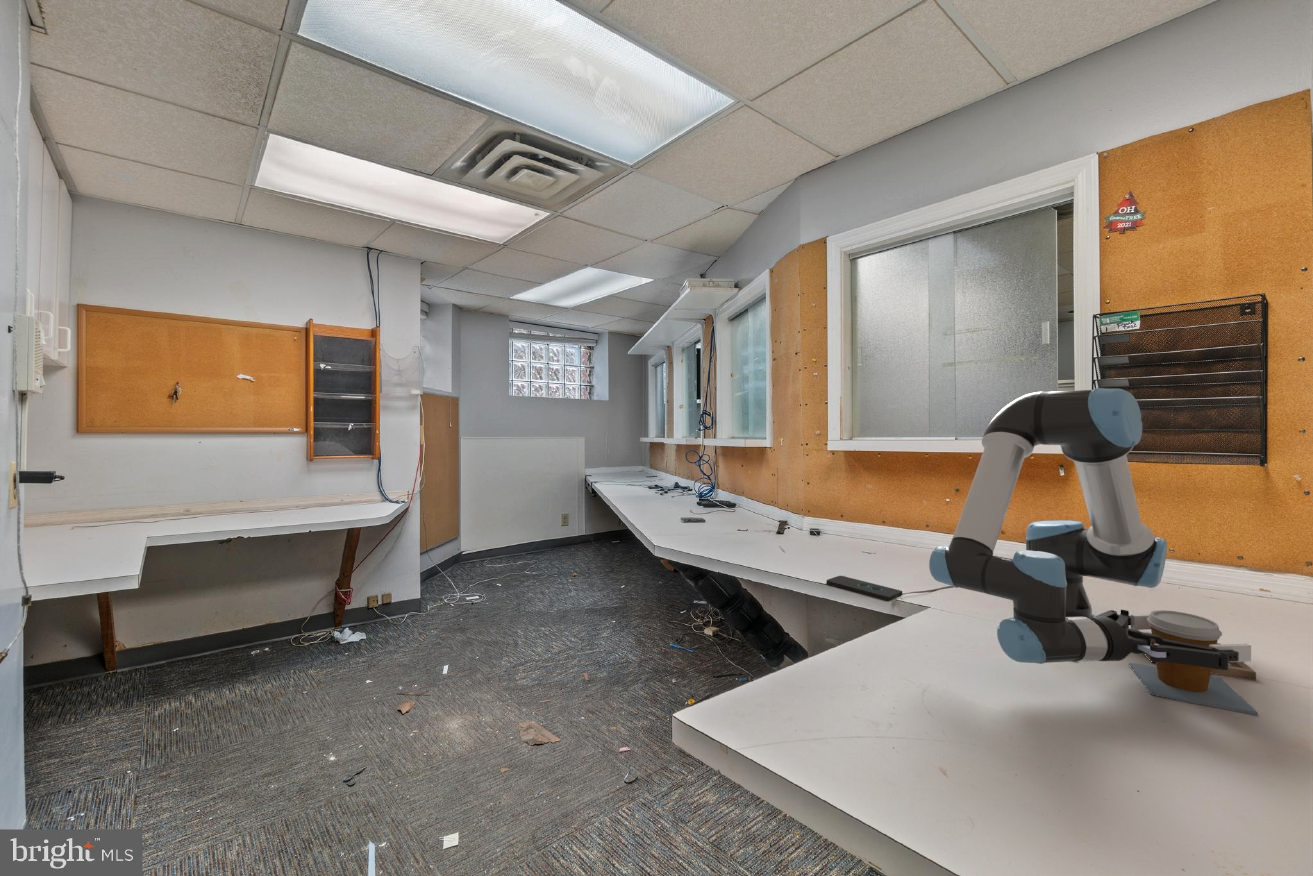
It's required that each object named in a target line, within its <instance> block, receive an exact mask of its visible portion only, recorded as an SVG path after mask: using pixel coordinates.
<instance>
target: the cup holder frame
mask: <svg viewBox="0 0 1313 876" xmlns="http://www.w3.org/2000/svg"><path fill="white" fill-rule="evenodd" d="M1143 632H1144V631H1143ZM1144 633H1146V632H1144ZM1149 633H1150V634H1152V633H1151V632H1149ZM1151 643H1153V640H1152V639H1151ZM1217 644H1221V643H1219V642H1217ZM1146 656H1147V657H1148V658H1149V659H1150V655H1148V654H1146ZM1146 656H1145V657H1146ZM1147 657H1146V658H1147ZM1148 658H1147V659H1148ZM1149 659H1148V660H1149ZM1151 661H1152V660H1151ZM1151 661H1150V662H1151ZM1152 662H1154V661H1152ZM1211 674H1216V675H1217V674H1218V675H1221V676H1222V675H1223V676H1228V677H1234V678H1240V679H1245V680H1253V681H1257V672H1256V671H1255V670H1254V669H1252V667H1250V666H1249V665H1247V664H1246V663H1245V662H1228V670H1221V669H1214V668H1212V670H1211Z"/></svg>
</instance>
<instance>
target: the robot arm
mask: <svg viewBox="0 0 1313 876" xmlns="http://www.w3.org/2000/svg"><path fill="white" fill-rule="evenodd" d="M1142 437H1143V422H1142V412H1141V409H1140V406H1139V403H1138V401H1137V400H1136V398H1135V397H1134V395H1133V394H1132V393H1131V392H1130V391H1128V390H1125V389H1122V388H1106V387H1105V388H1104V387H1098V388H1093V389H1084V390H1083V389H1082V390H1081V389H1080V390H1063V391H1062V390H1059V391H1036V392H1031V393H1027V394H1024V395H1022V396H1020V397H1018V398H1016V399H1015V400H1013V401H1011V402H1010V403H1008V404H1006V405H1005V406H1004V407H1003V408H1002V409H1001V410H1000V411H999V412H998V413H997V414H996V415H995V416H994V417H993V418H992V420H991V421H990V422H989V424H988V426H986V429H985V430H984V433H983V436H982V438H981V445H982V447H983V448H984V449H983V451H982V453H981V457H980V459H979V460H980V461H979V462H978V465H977V468H976V470H975V473H974V477H973V479H972V482H971V485H970V488H969V490H968V494H967V497H966V499H965V502H964V504H963V505H964V506H963V507H962V510H961V513H960V516H959V520H958V522H957V524H956V528H955V530H954V534H953V535H952V538H951V541H950V543H949V546H947V545H946V546H942V545H941V546H940V545H939V546H937V547H935V549H934V550H932V552H931V554H930V557H929V562H928V563H929V565H928V568H929V574H930V575H931V577H932V578H933V579H934V580H935V581H937V582H938V583H941V584H945V585H947V586H951V587H953V588H956V589H957V588H960V589H964V590H969V591H973V592H978V593H982V594H986V595H989V596H994V597H998V598H1002V599H1005V600H1009V601H1011V602H1012V603H1013V605H1012V606H1013V609H1012V611H1013V612H1012V613H1013V617H1009V618H1004V619H1002V620H1001V621H1000V622H999V625H998V626H997V628H996V629H997V630H996V635H997V640H998V643H999V645H1000V648H1001V649H1002V651H1003V652H1004V653H1005V655H1007V657H1008V658H1010V659H1011V660H1013V661H1015V662H1018V663H1024V664H1025V663H1028V664H1032V663H1033V664H1040V665H1042V664H1044V663H1045V664H1046V663H1048V664H1049V663H1066V662H1067V663H1068V662H1069V663H1074V664H1079V663H1080V662H1116V661H1117V662H1119V661H1123V660H1124V659H1126V658H1127V657H1128V656H1129V655H1130V654H1131V653H1132V654H1136V655H1141V654H1143V655H1145V654H1148V655H1150V660H1152V661H1154V662H1171V663H1178V664H1185V665H1193V666H1200V667H1207V668H1214V669H1221V670H1228V666H1229V663H1228V662H1244V663H1245V662H1247V663H1248V662H1252V645H1251V644H1249V643H1248V644H1247V643H1225V644H1224V643H1222V644H1221V643H1220V644H1215V645H1209V647H1206V646H1201V645H1195V644H1190V643H1184V642H1179V641H1173V640H1167V639H1162V638H1161V637H1160V636H1159V635H1155V634H1152V633H1151V632H1145V633H1144V630H1151V627H1150V625H1149V622H1148V621H1147V618H1148V617H1149V616H1150V613H1149V614H1146V613H1143V614H1130V612H1129V610H1128V609H1120V614H1119V613H1118V611H1116V610H1114V609H1111V610H1110V609H1109V610H1106V611H1105V612H1102V613H1100V614H1098V615H1095V616H1093V608H1092V604H1091V602H1090V599H1089V597H1088V595H1087V591H1086V589H1085V587H1084V577H1090V578H1094V579H1099V580H1104V581H1109V582H1114V583H1119V584H1124V585H1127V586H1129V585H1130V586H1133V587H1143V588H1149V589H1151V588H1156V587H1158V586H1159V585H1160V584H1161V580H1162V578H1163V574H1164V569H1165V566H1166V560H1167V553H1168V542H1167V539H1165V538H1160V537H1157V536H1154V532H1153V531H1152V529H1151V528H1150V527H1149V526H1147V525H1146V524H1144V523H1142V519H1141V515H1140V511H1139V505H1138V501H1137V497H1136V492H1135V488H1134V482H1133V478H1132V474H1131V470H1130V466H1129V462H1128V457H1127V455H1128V454H1129V453H1130V452H1131V451H1133V448H1134V446H1136V445H1138V444H1139V443H1140V441H1141V439H1142ZM1039 445H1043V446H1051V445H1052V446H1060V449H1061V452H1062V453H1063V455H1064V457H1066V458H1067V459H1068V460H1070V461H1073V462H1074V467H1075V470H1076V472H1077V477H1078V481H1079V485H1080V488H1081V491H1082V495H1083V498H1084V502H1085V505H1086V509H1087V513H1088V516H1089V522H1090V524H1091V526H1089V528H1085V524H1084V523H1083V522H1082V521H1074V520H1042V521H1033V522H1031V523H1030V524H1028V525H1027V527H1026V537H1025V550H1019V551H1016V552H1014V555H1013V558H1010V557H1009V558H1008V557H1003V556H997V555H994V551H995V548H996V545H997V542H998V540H999V536H1000V533H1001V530H1002V526H1003V524H1004V520H1005V517H1006V516H1007V515H1006V514H1007V512H1008V509H1009V506H1010V503H1011V499H1012V497H1013V494H1014V490H1015V488H1016V484H1017V481H1018V479H1019V475H1020V472H1021V470H1022V466H1023V463H1024V461H1025V458H1028V457H1029V456H1031V455H1032V453H1033V451H1034V449H1035V447H1036V446H1039ZM1141 630H1143V631H1141ZM1150 633H1151V634H1150ZM1151 639H1155V645H1153V644H1152V642H1151ZM1150 660H1149V661H1150Z"/></svg>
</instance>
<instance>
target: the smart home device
mask: <svg viewBox="0 0 1313 876" xmlns="http://www.w3.org/2000/svg"><path fill="white" fill-rule="evenodd" d="M826 585H829V586H833V587H835V588H840V589H843V590H848V591H851V592H853V593H858V594H861V595H865V596H869V597H872V598H876V599H881V600H884V601H887V602H889V601H892V600H895V599H897V598H899V597H901V595H902V596H903V590H901V589H896V588H892V587H888V586H885V585H880V584H876V583H872V582H868V581H864V580H860V579H856V578H852V577H849V576H848V577H847V576H844V575H837V576H834V577H831V578H828V579H826Z"/></svg>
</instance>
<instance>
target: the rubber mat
mask: <svg viewBox="0 0 1313 876" xmlns="http://www.w3.org/2000/svg"><path fill="white" fill-rule="evenodd" d="M1129 665H1130V666H1131V668H1132V669H1133V670H1134V672H1135V673H1136V674H1137V675H1136V674H1135V673H1134V672H1133V673H1134V674H1135V675H1136V677H1137V676H1138V677H1139V678H1140V679H1141V681H1142V682H1141V681H1140V682H1141V684H1144V685H1145V686H1146V687H1145V686H1144V685H1143V686H1144V687H1145V689H1146V688H1147V689H1148V690H1149V691H1148V690H1147V689H1146V690H1147V691H1148V693H1149V692H1150V693H1151V694H1152V695H1151V694H1150V693H1149V694H1150V695H1151V696H1153V695H1158V696H1157V697H1159V696H1161V697H1160V698H1164V697H1167V698H1166V699H1169V698H1171V699H1170V700H1174V699H1176V700H1175V701H1182V702H1185V701H1186V702H1185V703H1190V704H1191V703H1192V704H1195V703H1197V704H1196V705H1201V704H1203V705H1202V706H1206V705H1207V707H1211V706H1212V708H1216V709H1223V710H1228V711H1234V712H1238V713H1242V714H1243V713H1244V714H1248V715H1254V716H1259V712H1258V711H1257V710H1256V709H1255V708H1254V707H1253V706H1252V705H1251V704H1249V702H1248V701H1246V700H1245V699H1244V698H1243V696H1241V695H1240V694H1239V693H1238V692H1236V690H1234V689H1233V688H1232V687H1231V686H1230V685H1229V684H1228V683H1227V682H1226V681H1225V680H1224V679H1223V678H1221V677H1217V676H1211V675H1210V680H1209V684H1208V690H1207V691H1204V692H1194V691H1188V690H1183V689H1179V688H1176V687H1173V686H1171V685H1168V684H1166V683H1164V682H1163V681H1161V680H1160V679H1159V678H1158V672H1157V666H1151V665H1148V664H1147V665H1146V664H1142V663H1141V664H1140V663H1133V662H1128V666H1129ZM1130 666H1129V667H1130ZM1131 668H1130V669H1131ZM1132 669H1131V670H1132ZM1133 670H1132V671H1133ZM1138 677H1137V678H1138ZM1139 678H1138V679H1139ZM1140 679H1139V680H1140Z"/></svg>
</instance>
